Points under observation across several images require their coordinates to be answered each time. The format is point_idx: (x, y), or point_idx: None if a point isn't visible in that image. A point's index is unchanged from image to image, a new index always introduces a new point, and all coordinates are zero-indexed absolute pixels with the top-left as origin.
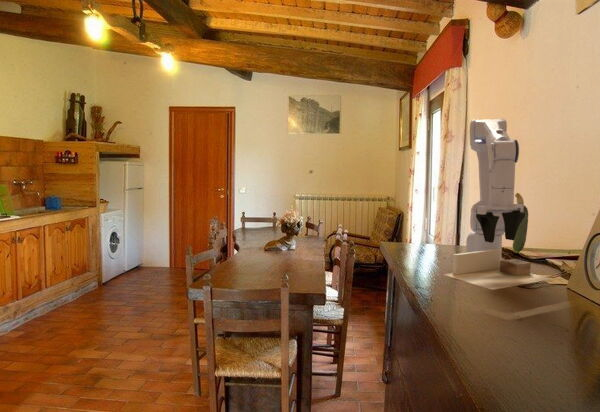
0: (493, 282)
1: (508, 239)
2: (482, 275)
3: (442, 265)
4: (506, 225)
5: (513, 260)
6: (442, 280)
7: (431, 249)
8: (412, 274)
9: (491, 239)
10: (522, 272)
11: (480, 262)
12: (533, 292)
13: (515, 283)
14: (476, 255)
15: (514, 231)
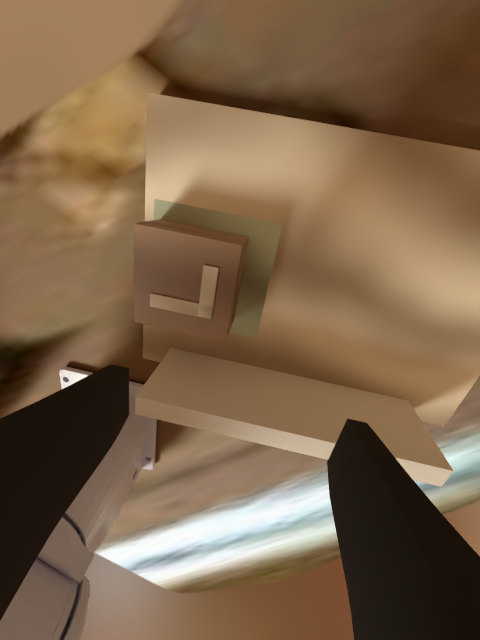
0: (445, 246)
1: (127, 397)
2: (349, 333)
3: (262, 478)
4: (40, 529)
5: (174, 301)
6: (469, 404)
7: (120, 553)
8: (451, 487)
9: (382, 444)
10: (209, 230)
11: (279, 393)
12: (412, 55)
13: (390, 168)
14: (308, 426)
15: (71, 411)
